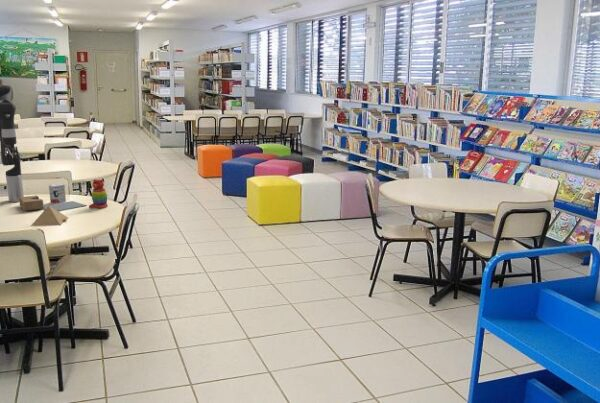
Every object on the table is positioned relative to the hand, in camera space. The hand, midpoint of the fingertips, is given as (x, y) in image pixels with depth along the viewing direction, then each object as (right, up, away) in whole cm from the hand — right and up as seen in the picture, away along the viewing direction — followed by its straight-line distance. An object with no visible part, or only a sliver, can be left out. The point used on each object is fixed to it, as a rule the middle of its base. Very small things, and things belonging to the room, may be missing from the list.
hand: (11, 162), depth 343 cm
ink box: (+15, -24, +30) cm, 41 cm away
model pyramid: (+31, -36, -17) cm, 50 cm away
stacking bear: (+47, -27, +18) cm, 57 cm away
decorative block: (+11, -26, +6) cm, 29 cm away
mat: (+24, -27, +17) cm, 40 cm away
